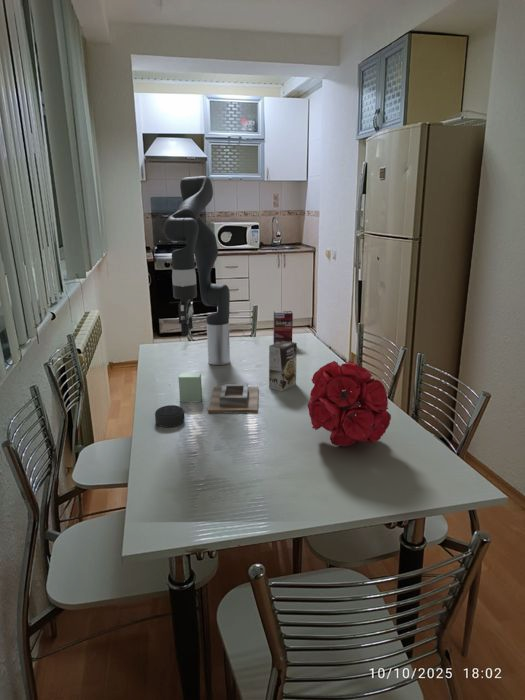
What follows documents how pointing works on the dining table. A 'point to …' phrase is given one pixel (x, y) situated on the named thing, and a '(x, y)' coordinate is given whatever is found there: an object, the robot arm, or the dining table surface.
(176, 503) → the dining table surface
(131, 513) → the dining table surface
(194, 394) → the keyed block
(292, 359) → the coffee box
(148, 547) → the dining table surface
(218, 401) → the keyed holder
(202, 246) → the robot arm
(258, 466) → the dining table surface
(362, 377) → the bouquet
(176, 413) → the smart speaker
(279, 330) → the supplement box
